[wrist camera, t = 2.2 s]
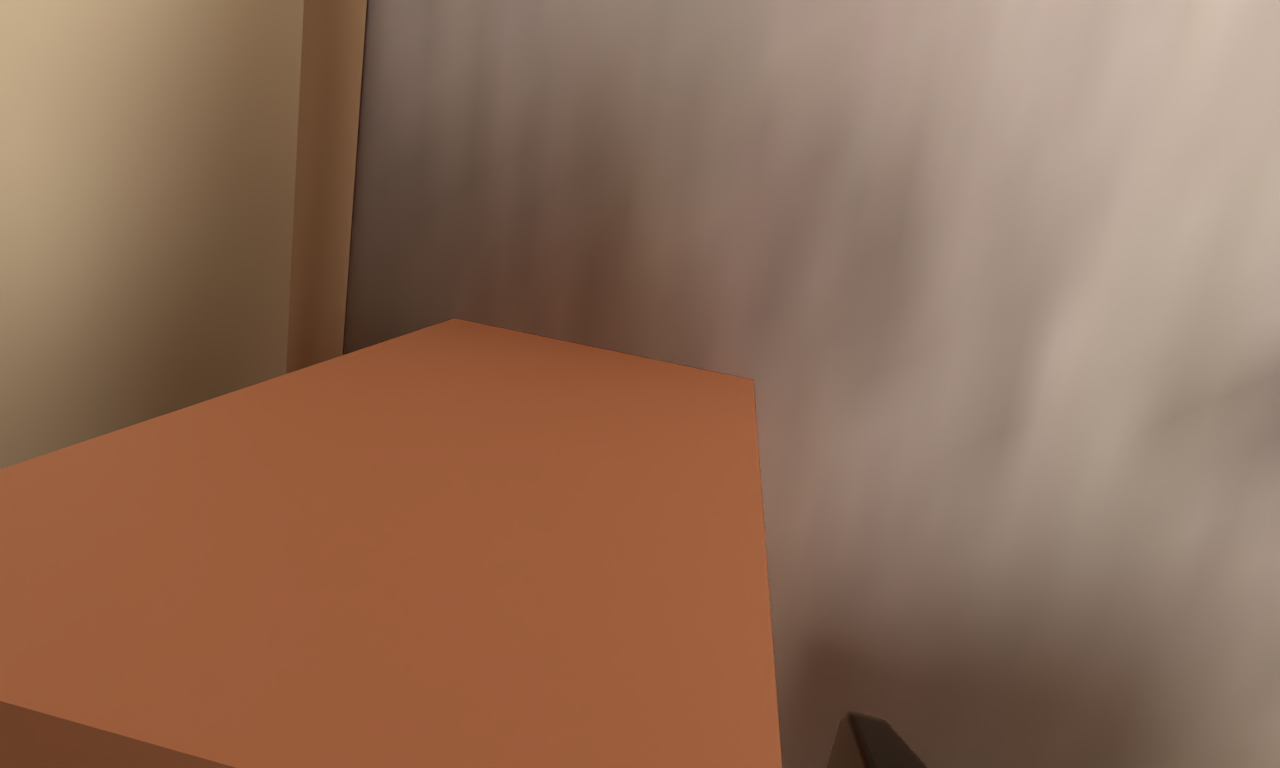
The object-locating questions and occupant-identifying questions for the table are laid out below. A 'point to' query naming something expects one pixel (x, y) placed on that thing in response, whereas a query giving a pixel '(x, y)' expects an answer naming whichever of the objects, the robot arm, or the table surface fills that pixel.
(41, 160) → the corner board
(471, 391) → the block
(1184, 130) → the table surface
